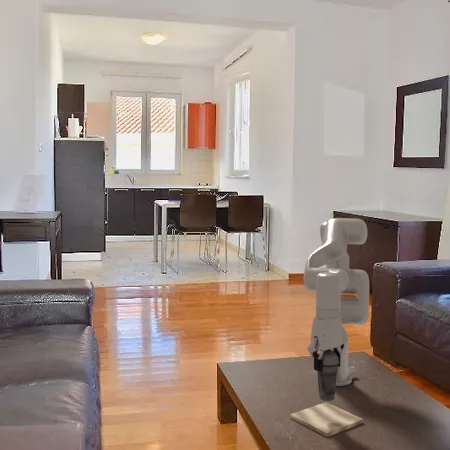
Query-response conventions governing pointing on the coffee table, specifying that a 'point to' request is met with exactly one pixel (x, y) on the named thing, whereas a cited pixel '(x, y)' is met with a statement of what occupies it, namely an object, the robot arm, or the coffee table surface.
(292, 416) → the birch board
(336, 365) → the beverage cup
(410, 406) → the coffee table surface
